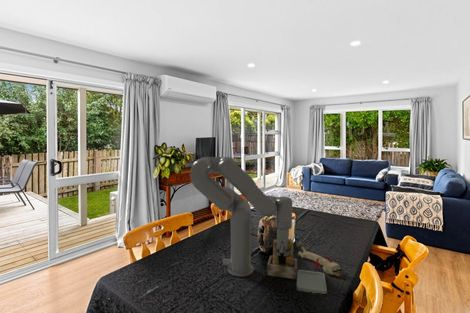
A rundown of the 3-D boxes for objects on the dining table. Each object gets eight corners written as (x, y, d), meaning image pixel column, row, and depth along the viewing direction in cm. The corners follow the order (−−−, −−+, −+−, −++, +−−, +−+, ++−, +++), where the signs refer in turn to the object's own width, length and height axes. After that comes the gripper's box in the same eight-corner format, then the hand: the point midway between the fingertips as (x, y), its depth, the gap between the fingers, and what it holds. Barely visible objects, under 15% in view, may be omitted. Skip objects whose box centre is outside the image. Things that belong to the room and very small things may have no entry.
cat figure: (294, 260, 140) (332, 279, 118) (294, 243, 140) (331, 259, 118) (308, 256, 144) (347, 273, 122) (308, 240, 144) (346, 255, 122)
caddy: (267, 275, 122) (267, 264, 121) (269, 265, 131) (270, 255, 131) (296, 279, 118) (296, 268, 118) (296, 268, 128) (297, 258, 127)
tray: (296, 290, 110) (296, 286, 110) (297, 272, 124) (297, 269, 124) (326, 295, 107) (326, 291, 107) (324, 276, 121) (324, 273, 121)
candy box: (273, 274, 123) (274, 242, 121) (272, 269, 127) (273, 238, 126) (292, 274, 123) (293, 242, 122) (290, 269, 127) (291, 238, 126)
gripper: (277, 217, 132) (276, 252, 134) (273, 229, 116) (272, 268, 117) (292, 218, 130) (291, 254, 132) (290, 231, 114) (289, 271, 115)
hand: (282, 260), depth 124 cm, fingers closed on candy box, 5 cm apart
